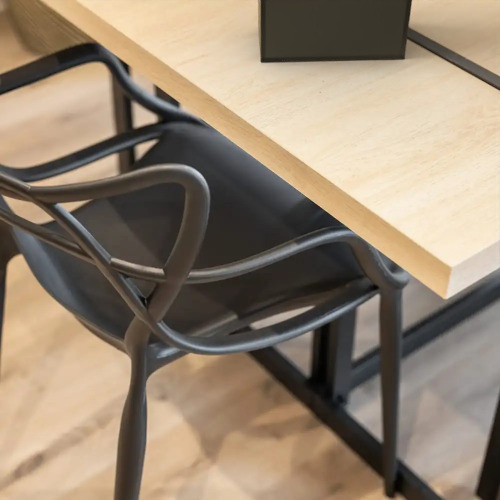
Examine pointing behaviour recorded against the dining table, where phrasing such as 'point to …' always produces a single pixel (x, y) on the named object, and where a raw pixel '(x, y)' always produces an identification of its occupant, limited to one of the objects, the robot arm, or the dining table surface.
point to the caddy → (332, 29)
